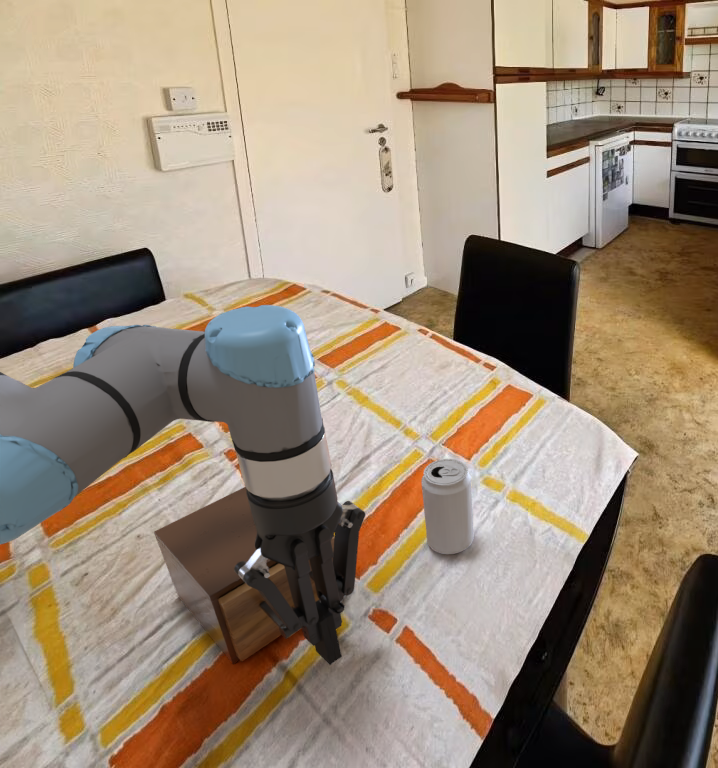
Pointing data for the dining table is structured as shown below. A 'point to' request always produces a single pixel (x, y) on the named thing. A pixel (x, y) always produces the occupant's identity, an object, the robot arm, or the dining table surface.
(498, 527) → the dining table surface
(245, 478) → the robot arm
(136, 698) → the dining table surface
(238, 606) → the drawer
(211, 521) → the cabinet
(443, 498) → the beverage can
